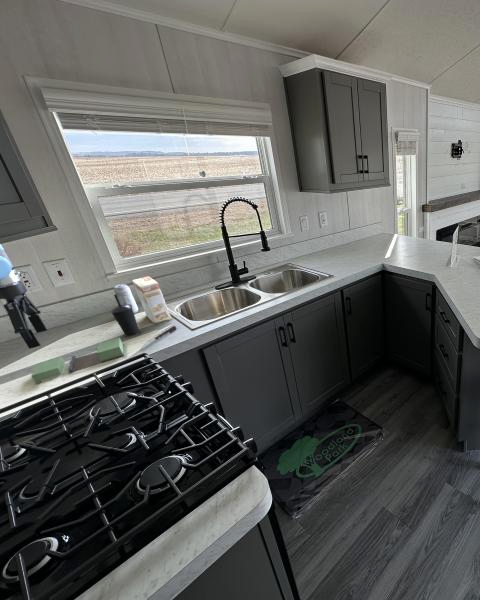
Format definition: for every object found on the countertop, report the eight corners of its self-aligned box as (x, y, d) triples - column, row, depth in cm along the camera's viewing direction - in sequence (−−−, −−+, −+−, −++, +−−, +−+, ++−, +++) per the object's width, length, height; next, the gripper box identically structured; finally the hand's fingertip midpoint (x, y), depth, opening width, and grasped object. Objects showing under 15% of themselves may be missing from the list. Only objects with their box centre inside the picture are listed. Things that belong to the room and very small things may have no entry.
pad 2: (100, 361, 126) (96, 353, 125) (102, 351, 133) (97, 343, 131) (123, 354, 130) (119, 346, 128) (123, 345, 137) (119, 337, 135)
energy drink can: (141, 309, 170) (130, 283, 164) (134, 315, 165) (122, 287, 158) (130, 310, 170) (118, 283, 164) (121, 315, 165) (109, 288, 158)
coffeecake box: (172, 319, 159) (158, 282, 151) (155, 325, 154) (140, 287, 146) (162, 310, 168) (148, 275, 160) (146, 316, 163) (131, 280, 155)
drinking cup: (121, 335, 147) (102, 295, 138) (142, 329, 151) (125, 289, 143) (123, 341, 142) (104, 300, 133) (144, 335, 146) (127, 294, 138)
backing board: (71, 375, 121) (68, 370, 120) (75, 361, 130) (72, 356, 129) (125, 358, 130) (122, 353, 129) (125, 346, 138) (122, 341, 137)
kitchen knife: (175, 329, 150) (173, 325, 149) (176, 329, 150) (175, 325, 149) (140, 351, 134) (138, 347, 133) (142, 351, 134) (140, 347, 133)
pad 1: (36, 384, 117) (30, 375, 115) (41, 372, 123) (35, 364, 122) (63, 376, 121) (57, 367, 119) (66, 365, 127) (61, 356, 125)
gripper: (12, 292, 101) (47, 349, 110) (29, 271, 119) (58, 322, 128) (-24, 299, 97) (15, 358, 106) (-1, 276, 115) (31, 328, 124)
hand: (38, 338), depth 117 cm, fingers open, 13 cm apart
